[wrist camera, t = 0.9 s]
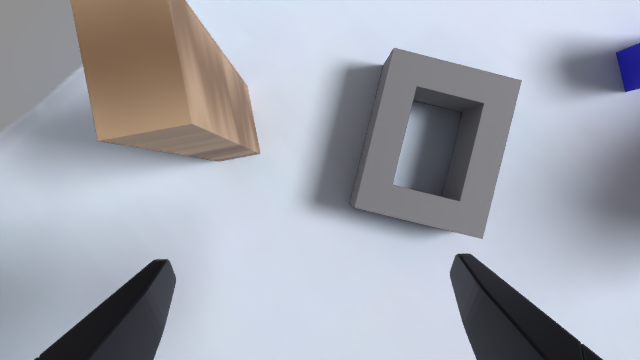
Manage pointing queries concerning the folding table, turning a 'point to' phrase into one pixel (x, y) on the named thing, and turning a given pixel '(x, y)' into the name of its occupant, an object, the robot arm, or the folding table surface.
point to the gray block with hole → (469, 149)
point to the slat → (162, 80)
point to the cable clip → (630, 67)
